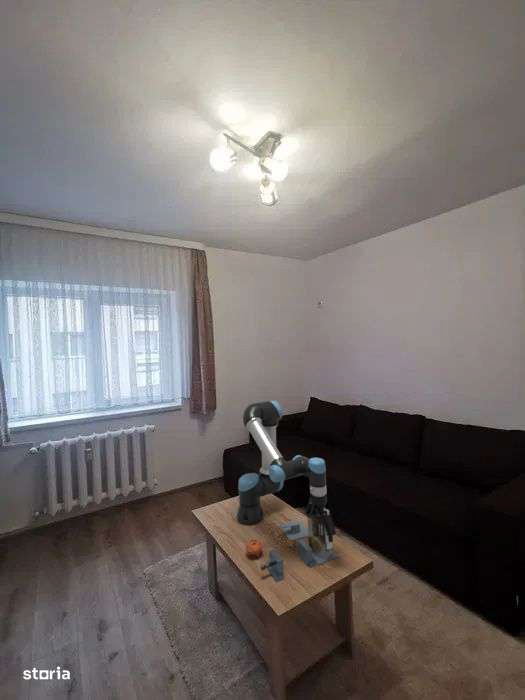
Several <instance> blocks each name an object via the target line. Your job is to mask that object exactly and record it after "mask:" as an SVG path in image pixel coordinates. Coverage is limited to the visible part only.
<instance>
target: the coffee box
mask: <svg viewBox="0 0 525 700" xmlns="http://www.w3.org/2000/svg"><path fill="white" fill-rule="evenodd" d="M323 515H324V514H323ZM323 515H322V516H323ZM307 528H308V533H309V537H308V545H309V546H310V547H311V548H312V553H314V554H316V555H318V556H320V557H322V558H324V559H327V558H328V557H329V556H330V555H331V554H332V553H333V551H334V547H333V548H330V549H327V543H326V534H327V531H326V529H325V526H324V523H323V521H322V519H321V518H320V516H319V515H318V514H317V513H316V512H315V513H312V514H311V515H310V516H309V517H308V516H307Z"/></svg>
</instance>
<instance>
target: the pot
mask: <svg viewBox="0 0 525 700" xmlns="http://www.w3.org/2000/svg"><path fill="white" fill-rule="evenodd" d="M263 548H264V546H263V542H261V541H260V540H259V539H257V538H252V539H251V540H250V541H249V542H247V544H246V545H245V550H246V552H247V555H248V556H250V555H251V556H255V555H256V556H257V558H259V557H260V553H261V552H262V550H263Z"/></svg>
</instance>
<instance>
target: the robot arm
mask: <svg viewBox="0 0 525 700" xmlns="http://www.w3.org/2000/svg"><path fill="white" fill-rule="evenodd" d="M282 417H283V410H282V407H281V405H280V404H279V403H278V402H277V401H276V400H267V401H262V402H253V403H251V404H248V406H247V407H246V408H245V409H244V411H243V414H242V422H243V426H244V427H245V429H246V431H248V432H249V433H250V435H251V436H252V438H253V439H254V441H255V443H256V445H257V447H259V450H260V451H261V467H260V468H259V474H258V473H256V472H251V473H250V472H249V473H245V474H243V475H241V477H239V479H238V486H237V487H238V499H239V506H238V509H237V514H236V519H237V523H239V524H241V525H244V526H253V525H257V524H259V523H261V522H262V521H263V520H264V518H265V513H264V511H263V507H262V505H261V498H262V497H265V496H267V495H271V494H275V493H277V492H279V491H281V490H282V489H283V487H284V481H287V480H290V479H293V478H296V477H300V476H305V477H307V478H309V479H308V480H309V492H310V493H309V496H310V497H309V498H308V499H307V500H308V501H307V506H306V509H305V515H307V517H309V516H310V515H311V514H312V513H315V512H316V513H317V514H318V515H319V516H320V518H321V519H322V521H323V523H324V526H325V529H326V531H327V534H326V543H327V549H330V548H333V549H334V546H333V545H334V544H333V541H334V537H333V536H335V535H336V534H337V531H336V528H335V525H334V521H333V518H332V514H331V509H327V507H326V504H327V503H328V498H327V497H328V494H327V493H328V492H327V491H328V490H327V475H326V474H327V473H326V471H327V468H326V461H325V460H324V458H322V457H321V458H320V457H311V458H308V457H306V456H303V455H300V454H297V455H295V456H294V457H293V458H292V460H288V461H286V460H285V459H284V456H283V455H282V454H281V452H280V451H279V448H277V427H278V425H279V421H280V420H281V419H282ZM322 515H323V516H322Z"/></svg>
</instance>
